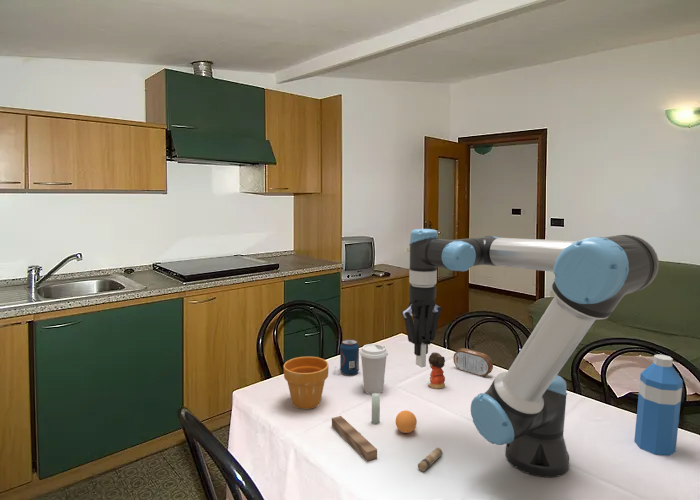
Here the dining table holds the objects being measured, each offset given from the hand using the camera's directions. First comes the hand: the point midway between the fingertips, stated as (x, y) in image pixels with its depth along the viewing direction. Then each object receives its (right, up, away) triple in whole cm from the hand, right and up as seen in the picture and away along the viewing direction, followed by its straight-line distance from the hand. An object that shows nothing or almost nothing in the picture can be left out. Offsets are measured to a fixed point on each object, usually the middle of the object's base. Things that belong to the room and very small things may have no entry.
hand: (420, 365), depth 135 cm
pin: (+3, -19, -12) cm, 23 cm away
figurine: (+10, -15, +30) cm, 35 cm away
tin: (+25, -13, +41) cm, 50 cm away
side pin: (-13, -18, +5) cm, 22 cm away
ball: (-4, -16, -1) cm, 16 cm away
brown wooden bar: (-19, -19, -6) cm, 28 cm away
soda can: (-20, -13, +41) cm, 48 cm away
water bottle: (+62, -20, -8) cm, 65 cm away
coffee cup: (-12, -15, +27) cm, 33 cm away
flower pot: (-34, -16, +17) cm, 41 cm away
